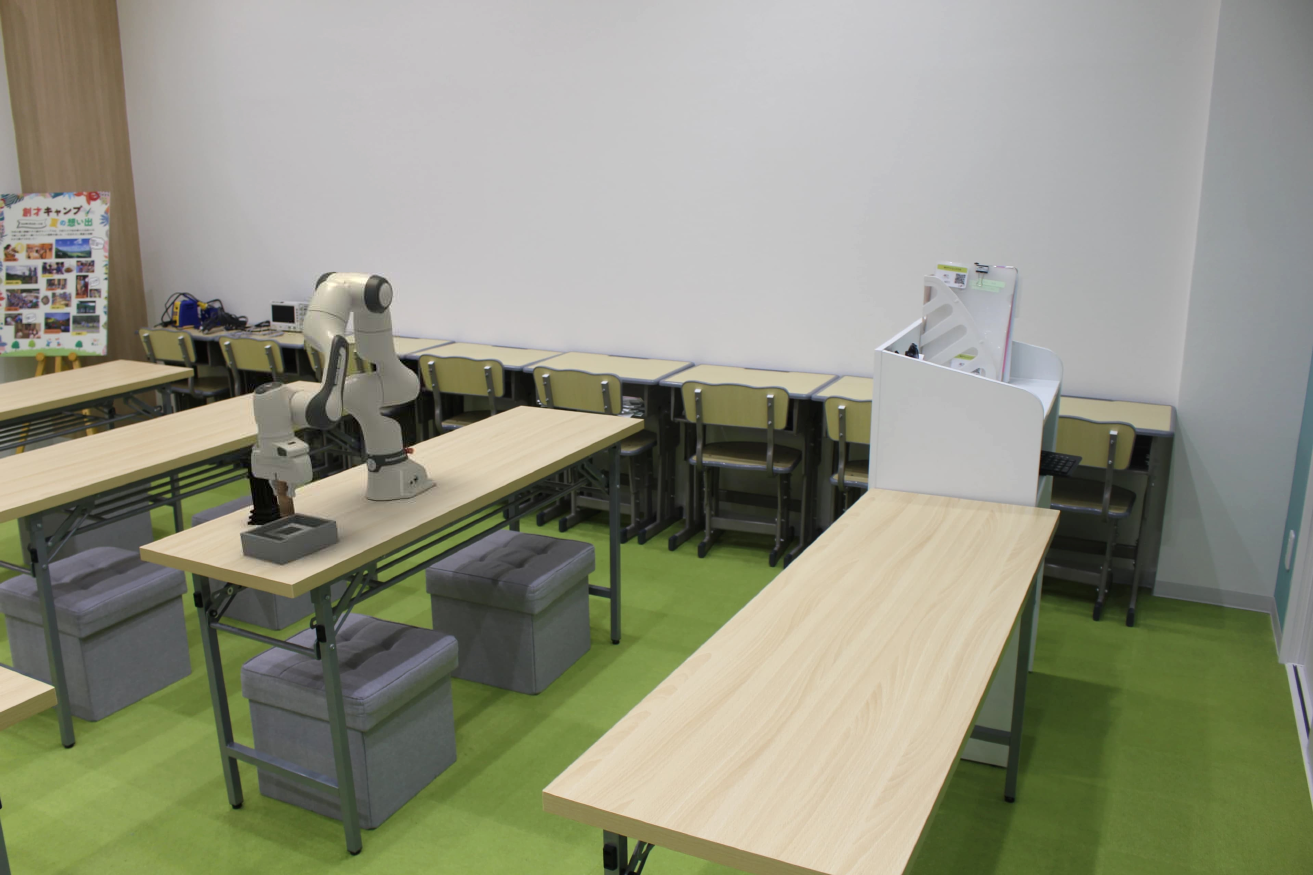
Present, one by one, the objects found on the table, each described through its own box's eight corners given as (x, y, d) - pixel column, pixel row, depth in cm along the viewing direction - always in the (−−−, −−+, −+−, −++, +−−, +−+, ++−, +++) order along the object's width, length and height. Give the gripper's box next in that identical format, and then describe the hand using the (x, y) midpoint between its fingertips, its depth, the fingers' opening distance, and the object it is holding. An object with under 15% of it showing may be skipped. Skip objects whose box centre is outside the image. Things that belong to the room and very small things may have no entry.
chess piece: (272, 525, 270) (262, 458, 265) (247, 524, 271) (237, 458, 266) (288, 516, 277) (278, 451, 272) (264, 515, 279) (254, 450, 274)
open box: (300, 533, 263) (297, 512, 261) (338, 541, 254) (336, 521, 253) (243, 554, 248) (240, 533, 246) (282, 564, 240) (279, 542, 238)
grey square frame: (294, 536, 257) (292, 522, 256) (316, 541, 252) (314, 527, 251) (266, 547, 249) (263, 533, 248) (288, 553, 245) (285, 538, 244)
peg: (289, 511, 251) (282, 468, 248) (297, 513, 249) (291, 470, 246) (277, 515, 248) (270, 472, 245) (286, 517, 246) (279, 473, 243)
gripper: (241, 444, 247) (249, 495, 250) (292, 451, 236) (300, 504, 239) (262, 439, 252) (269, 488, 255) (313, 445, 241) (320, 497, 245)
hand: (285, 496), depth 247 cm, fingers closed on peg, 4 cm apart
